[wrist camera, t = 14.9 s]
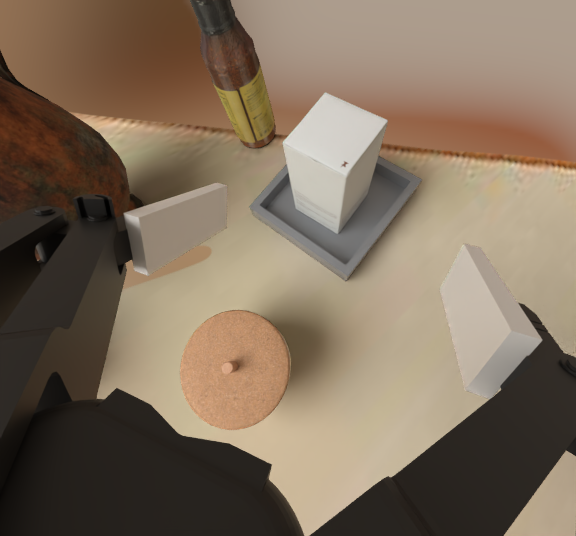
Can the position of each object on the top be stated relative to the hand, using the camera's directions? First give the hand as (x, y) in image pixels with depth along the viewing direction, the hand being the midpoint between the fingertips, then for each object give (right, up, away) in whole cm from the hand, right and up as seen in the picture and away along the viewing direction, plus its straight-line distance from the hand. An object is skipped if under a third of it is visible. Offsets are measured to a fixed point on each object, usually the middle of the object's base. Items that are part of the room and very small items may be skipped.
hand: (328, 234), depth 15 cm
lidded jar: (-7, -13, +18) cm, 23 cm away
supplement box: (+4, +7, +22) cm, 23 cm away
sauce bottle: (-7, +19, +28) cm, 34 cm away
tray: (+4, +7, +22) cm, 24 cm away
